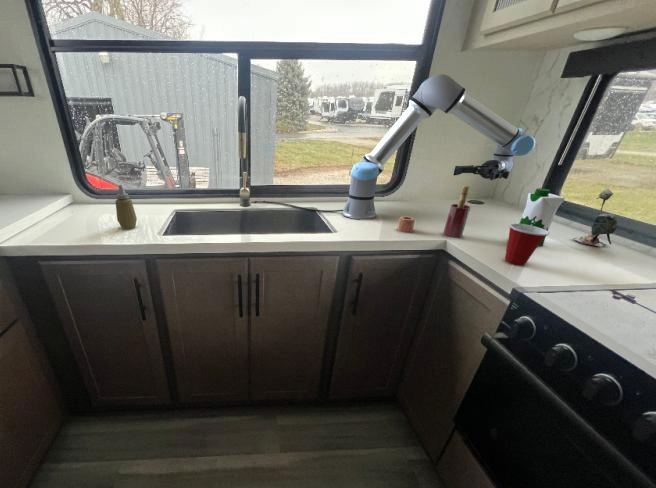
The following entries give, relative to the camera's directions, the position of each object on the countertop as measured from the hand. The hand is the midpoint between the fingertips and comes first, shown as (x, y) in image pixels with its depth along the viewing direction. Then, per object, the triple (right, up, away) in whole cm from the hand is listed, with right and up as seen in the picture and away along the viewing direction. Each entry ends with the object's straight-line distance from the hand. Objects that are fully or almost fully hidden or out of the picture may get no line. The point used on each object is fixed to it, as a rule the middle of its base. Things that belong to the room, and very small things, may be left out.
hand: (472, 174), depth 133 cm
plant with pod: (+42, -29, -5) cm, 51 cm away
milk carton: (+18, -28, -4) cm, 34 cm away
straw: (-6, -23, +4) cm, 24 cm away
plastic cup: (+1, -37, -20) cm, 42 cm away
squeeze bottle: (-143, -18, +15) cm, 145 cm away
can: (-6, -24, +4) cm, 25 cm away
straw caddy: (-23, -21, +9) cm, 32 cm away
